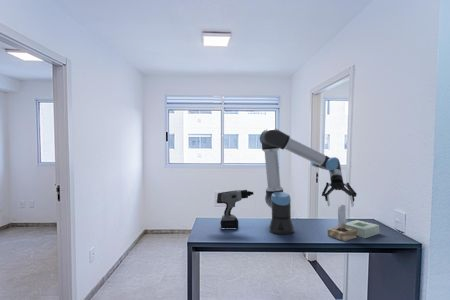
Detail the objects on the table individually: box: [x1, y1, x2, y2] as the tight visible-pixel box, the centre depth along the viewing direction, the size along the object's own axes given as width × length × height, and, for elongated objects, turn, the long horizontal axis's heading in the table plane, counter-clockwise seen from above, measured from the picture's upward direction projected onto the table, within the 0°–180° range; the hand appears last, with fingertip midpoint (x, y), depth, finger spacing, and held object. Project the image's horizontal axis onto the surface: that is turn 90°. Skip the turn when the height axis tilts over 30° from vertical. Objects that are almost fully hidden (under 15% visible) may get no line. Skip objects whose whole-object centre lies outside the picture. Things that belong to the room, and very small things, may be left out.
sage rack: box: [346, 219, 380, 239], centre depth 164 cm, size 14×14×5 cm
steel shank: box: [337, 204, 347, 232], centre depth 158 cm, size 4×4×18 cm
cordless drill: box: [216, 189, 254, 229], centre depth 179 cm, size 8×24×25 cm, turn 89°
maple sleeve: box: [327, 225, 358, 242], centre depth 158 cm, size 11×11×4 cm
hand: (340, 205), depth 166 cm, fingers open, 13 cm apart
